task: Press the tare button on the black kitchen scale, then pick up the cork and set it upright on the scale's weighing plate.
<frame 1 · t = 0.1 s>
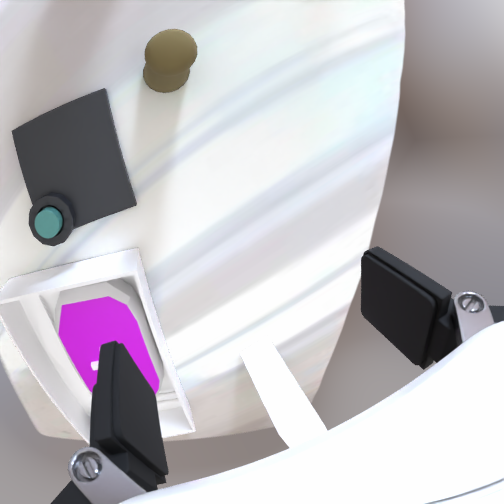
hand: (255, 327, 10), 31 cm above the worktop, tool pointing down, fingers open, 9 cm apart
tare button: (48, 222, 30), point 3 cm above the worktop, slide at 0.1 cm
milk: (259, 352, 54), on the worktop
white tray with pad: (105, 354, 44), on the worktop
scale: (71, 165, 32), on the worktop
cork: (166, 71, 31), on the worktop
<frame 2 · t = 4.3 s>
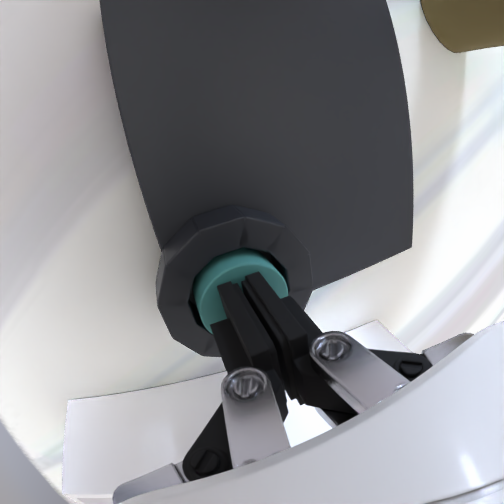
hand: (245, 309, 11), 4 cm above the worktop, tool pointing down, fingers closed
tare button: (239, 294, 12), point 3 cm above the worktop, slide at -0.6 cm, touching gripper
white tray with pad: (252, 469, 25), on the worktop
scale: (289, 132, 13), on the worktop
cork: (443, 17, 12), on the worktop
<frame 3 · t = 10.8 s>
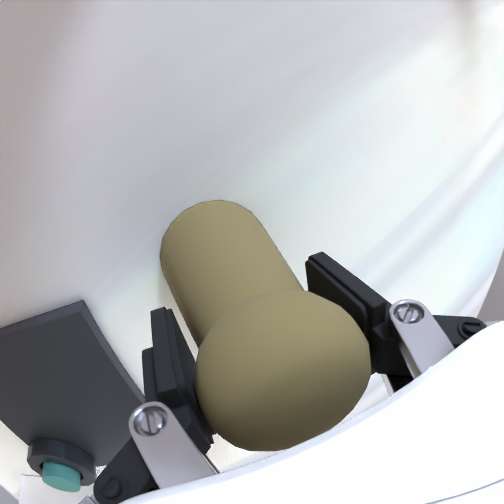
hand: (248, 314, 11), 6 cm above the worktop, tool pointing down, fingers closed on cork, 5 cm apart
tare button: (61, 477, 15), point 3 cm above the worktop, slide at 0.1 cm
scale: (63, 406, 17), on the worktop
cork: (214, 253, 16), on the worktop, touching gripper
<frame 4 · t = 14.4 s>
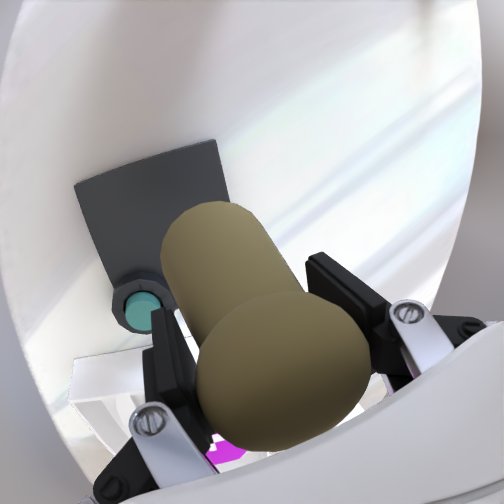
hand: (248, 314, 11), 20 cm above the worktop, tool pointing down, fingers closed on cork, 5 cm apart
tare button: (143, 311, 28), point 3 cm above the worktop, slide at 0.1 cm
white tray with pad: (186, 420, 41), on the worktop
scale: (165, 235, 29), on the worktop
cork: (214, 254, 16), point 14 cm above the worktop, touching gripper
when the fingers open (7 cm above the worktop, at t = 18.3 s): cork stays where it is, resting on scale.
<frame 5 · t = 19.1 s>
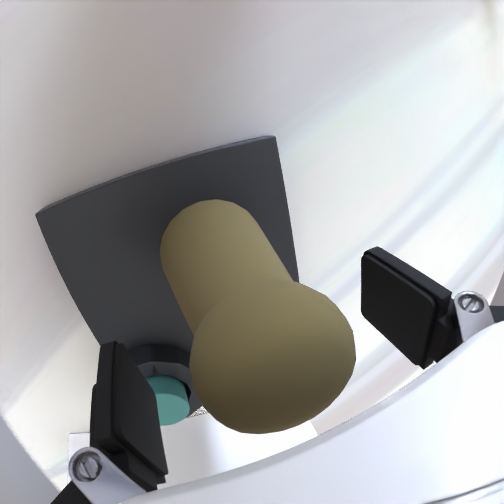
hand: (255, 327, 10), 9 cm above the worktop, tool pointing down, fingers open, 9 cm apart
tare button: (161, 401, 17), point 3 cm above the worktop, slide at 0.1 cm
white tray with pad: (210, 481, 31), on the worktop
scale: (189, 288, 19), on the worktop
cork: (211, 250, 17), point 1 cm above the worktop, touching scale
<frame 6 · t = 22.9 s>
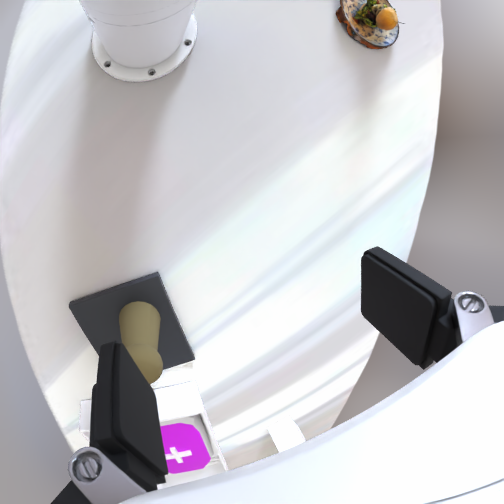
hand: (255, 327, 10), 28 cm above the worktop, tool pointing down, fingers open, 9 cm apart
milk: (282, 425, 63), on the worktop
white tray with pad: (163, 439, 52), on the worktop
scale: (134, 331, 40), on the worktop
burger: (364, 17, 32), on the worktop
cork: (139, 318, 39), point 1 cm above the worktop, touching scale
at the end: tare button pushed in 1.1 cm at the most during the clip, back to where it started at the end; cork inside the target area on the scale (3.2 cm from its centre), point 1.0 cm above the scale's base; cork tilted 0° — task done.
